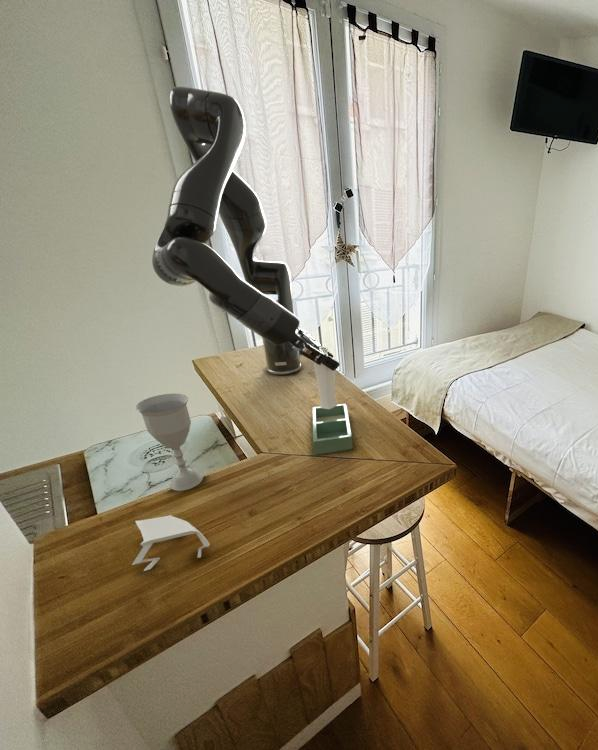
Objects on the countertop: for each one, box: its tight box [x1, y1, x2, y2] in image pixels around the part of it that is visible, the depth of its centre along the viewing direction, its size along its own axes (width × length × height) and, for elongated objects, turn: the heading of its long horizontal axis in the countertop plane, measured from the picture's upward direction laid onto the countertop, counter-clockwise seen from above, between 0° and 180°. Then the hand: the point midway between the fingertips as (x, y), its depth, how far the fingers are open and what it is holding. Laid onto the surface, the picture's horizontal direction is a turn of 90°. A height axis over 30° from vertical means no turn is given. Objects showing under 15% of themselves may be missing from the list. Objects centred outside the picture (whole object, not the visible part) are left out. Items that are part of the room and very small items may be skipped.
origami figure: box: [131, 514, 211, 572], centre depth 63 cm, size 12×8×5 cm
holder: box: [311, 403, 354, 456], centre depth 96 cm, size 15×8×4 cm, turn 23°
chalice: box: [135, 393, 204, 492], centre depth 74 cm, size 7×7×18 cm
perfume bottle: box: [313, 346, 338, 409], centre depth 94 cm, size 5×4×15 cm
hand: (333, 362), depth 93 cm, fingers closed on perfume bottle, 4 cm apart
